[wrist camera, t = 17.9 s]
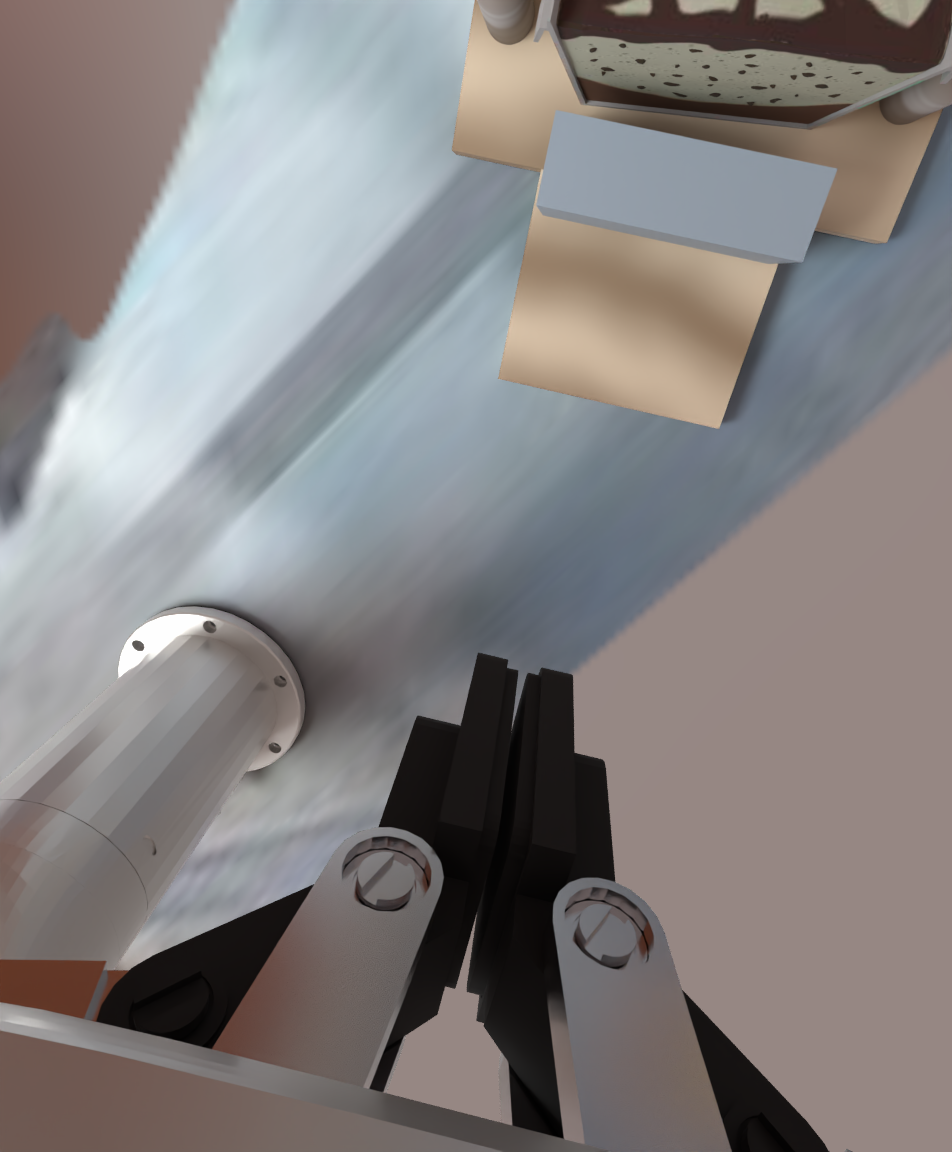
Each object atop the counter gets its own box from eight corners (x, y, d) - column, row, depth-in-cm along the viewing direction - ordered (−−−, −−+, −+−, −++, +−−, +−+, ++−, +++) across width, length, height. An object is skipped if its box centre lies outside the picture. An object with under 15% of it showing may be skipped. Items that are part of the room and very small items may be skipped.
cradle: (793, 441, 33) (828, 469, 28) (424, 357, 34) (399, 371, 29) (1025, -121, 24) (1133, -215, 19) (514, -216, 25) (499, -329, 20)
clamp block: (767, 263, 29) (802, 262, 24) (542, 215, 29) (536, 205, 25) (795, 185, 28) (837, 168, 23) (559, 135, 28) (555, 109, 24)
